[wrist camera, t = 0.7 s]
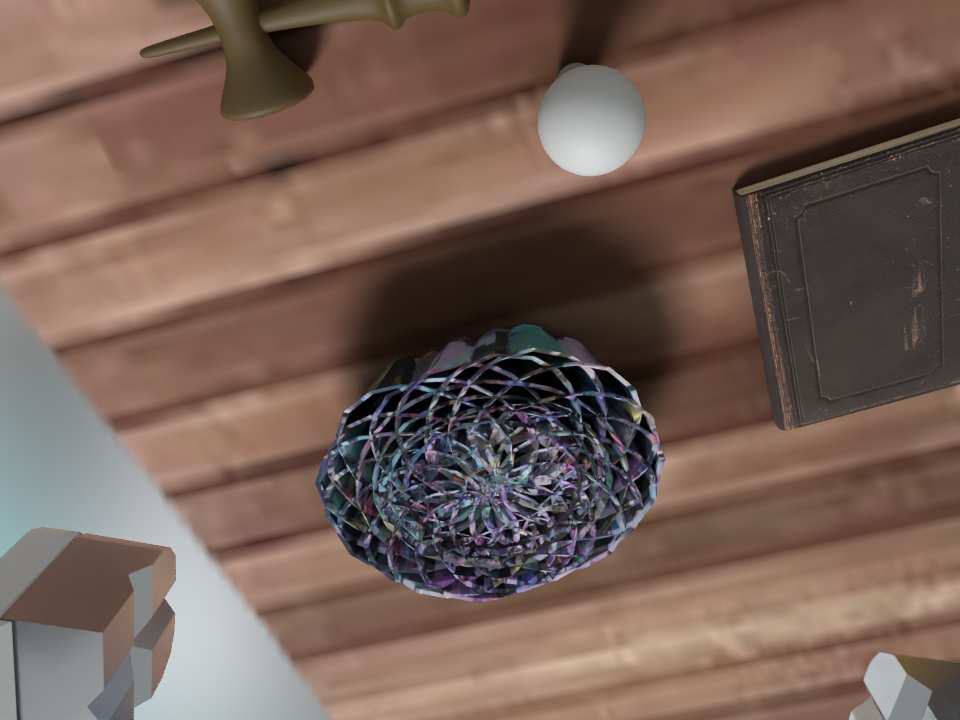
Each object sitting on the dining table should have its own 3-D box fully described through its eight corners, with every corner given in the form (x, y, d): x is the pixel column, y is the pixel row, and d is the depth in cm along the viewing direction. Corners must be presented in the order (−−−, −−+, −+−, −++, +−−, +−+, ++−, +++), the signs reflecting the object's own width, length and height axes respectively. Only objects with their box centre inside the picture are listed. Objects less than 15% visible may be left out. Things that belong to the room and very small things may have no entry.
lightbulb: (528, 29, 51) (545, 84, 42) (625, 29, 52) (662, 84, 43) (525, 124, 55) (540, 194, 46) (615, 124, 55) (648, 192, 46)
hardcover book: (962, 110, 56) (979, 121, 54) (961, 364, 69) (976, 380, 67) (729, 185, 59) (738, 198, 57) (771, 415, 72) (779, 433, 70)
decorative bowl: (273, 378, 69) (243, 462, 61) (558, 225, 59) (565, 303, 51) (445, 546, 82) (437, 633, 74) (702, 443, 72) (724, 532, 64)
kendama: (481, 39, 52) (187, 116, 54) (442, -131, 47) (117, -40, 49) (486, 64, 47) (162, 148, 49) (444, -123, 42) (82, -22, 44)
